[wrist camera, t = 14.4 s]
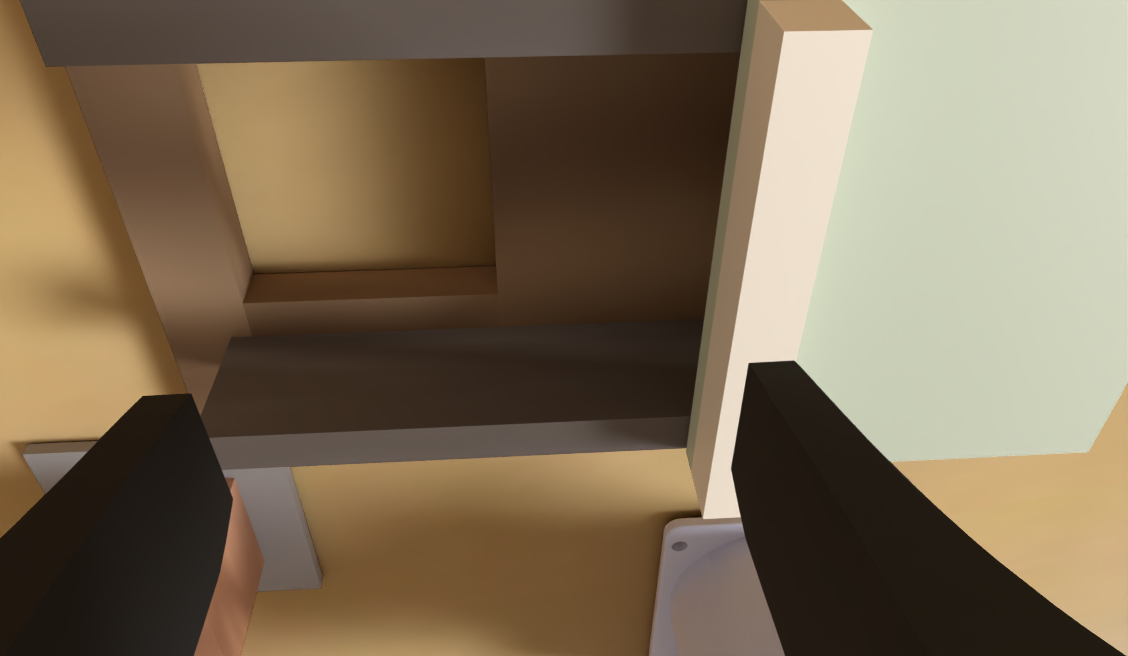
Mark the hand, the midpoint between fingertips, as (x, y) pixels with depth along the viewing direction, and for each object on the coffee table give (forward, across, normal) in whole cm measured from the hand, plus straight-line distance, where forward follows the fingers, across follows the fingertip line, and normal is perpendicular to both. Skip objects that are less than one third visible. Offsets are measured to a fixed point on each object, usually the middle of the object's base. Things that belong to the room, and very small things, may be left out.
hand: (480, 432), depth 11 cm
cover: (+5, -9, +1) cm, 10 cm away
